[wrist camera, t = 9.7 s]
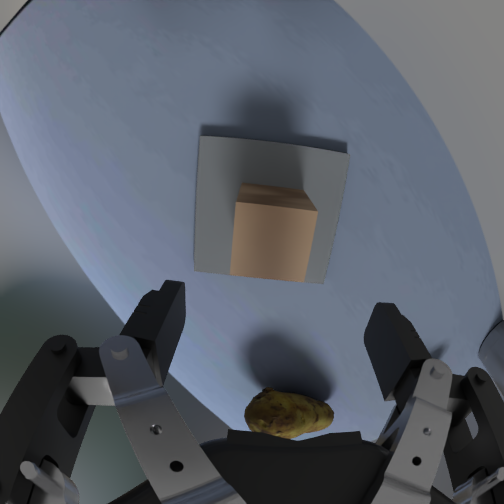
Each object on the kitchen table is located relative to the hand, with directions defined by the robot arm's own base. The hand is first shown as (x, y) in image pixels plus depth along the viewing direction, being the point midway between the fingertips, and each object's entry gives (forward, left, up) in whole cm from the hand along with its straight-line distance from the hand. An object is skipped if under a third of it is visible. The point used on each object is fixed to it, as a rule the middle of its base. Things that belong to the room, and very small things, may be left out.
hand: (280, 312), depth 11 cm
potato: (-6, +24, -14) cm, 29 cm away
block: (0, 0, -13) cm, 13 cm away
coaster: (0, 0, -14) cm, 14 cm away
